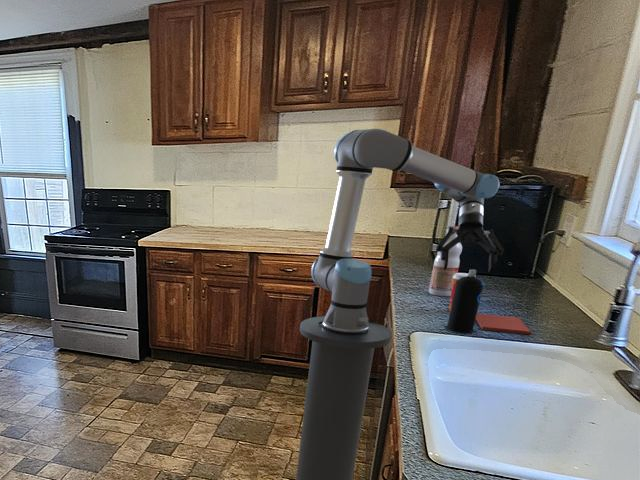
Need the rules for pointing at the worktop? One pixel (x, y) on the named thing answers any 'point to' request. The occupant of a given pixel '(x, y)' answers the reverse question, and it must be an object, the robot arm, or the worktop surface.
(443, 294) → the fruit juice
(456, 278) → the paper cup
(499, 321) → the pad
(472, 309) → the aerosol can
